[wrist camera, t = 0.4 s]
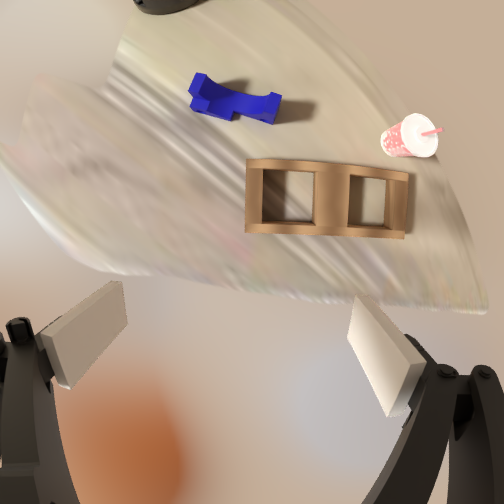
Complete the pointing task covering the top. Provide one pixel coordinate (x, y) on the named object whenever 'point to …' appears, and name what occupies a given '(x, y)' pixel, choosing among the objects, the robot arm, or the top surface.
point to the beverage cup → (411, 137)
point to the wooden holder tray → (327, 200)
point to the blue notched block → (231, 101)
